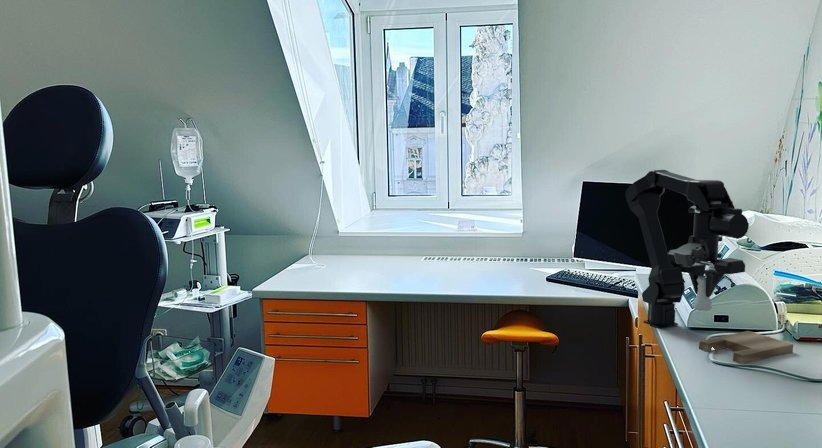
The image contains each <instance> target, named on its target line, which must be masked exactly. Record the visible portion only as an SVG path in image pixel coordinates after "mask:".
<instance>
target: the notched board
mask: <svg viewBox="0 0 822 448" xmlns="http://www.w3.org/2000/svg"><path fill="white" fill-rule="evenodd" d="M698 341H699V343H698V350H701V351H704V352H708V353H709V352H712V351H711V348H712V347H713V348H714V349H715V350H714V351H718V350H722V349H728V350H731V351H733V352H732V361H733V362H736V363H738V364H742V365H745V364H749V363H753V362H758V361H761V360H766V359H767V360H768V359H770V358H775V357H779V356H784V355H788V354H791V353H792V354H793V352H794V344H793V343H791V342H787V341H783V340H779V339H777V338H773V337H770V336H767V335H763V334H761V333H756V332H754V331H752V330H751V331H750V330H745V331H740V332H735V333H731V334H726V335H721V336H715V337H711V338H706V339H701V340H698Z"/></svg>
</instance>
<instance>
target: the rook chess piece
mask: <svg viewBox="0 0 822 448" xmlns="http://www.w3.org/2000/svg"><path fill="white" fill-rule="evenodd" d="M697 282H698V286H697V287H698V292H697V294H696V296H695V298H694V300H693V301H692V304H693V305H692V307H693V309H695V310H698V311H705V312H706V311H711V310H712V309H713V306H712V304H713V303H712V301H711V298H710V297H706V275H704V277H702V276H698V279H697Z"/></svg>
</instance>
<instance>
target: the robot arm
mask: <svg viewBox="0 0 822 448" xmlns="http://www.w3.org/2000/svg"><path fill="white" fill-rule="evenodd" d="M665 190H669V191H672V192H675V193H678V194H681V195H684V196H685V197H686V199H687V201H690V202H691V203H693V204H692V206H690V207H689V208H688V209H687V211H688V212H689V213H694V216H693V233H692V234H693V235H689V237H688V241H687V243H686V244H683V245H681V246H679V247H678V248H676V249H675V248H674V249H669V250H668V249H667V245H666V241H665V237H664V234H663V233H664V232H663V230H662V227H661V223H660V220H659V216H658V210H659V208H660V205H661V196H662V195H663V194H664V193H665ZM625 199H626V202H627V205H628V208H629V210H630V211H631V212H632V213H633V214H634V215H635V216H636V217H637V218H638V222H639V226H640V228H641V232H642V236H643V240H644V244H645V247H646V252H647V255H648V259H649V262H650V263H649V264H650V266H651V269H650V273H649V275H648V279H647V280H648V286H647V287H646V289H645V290H643V291H642V293H641V297H642V302H644V303H647V304H648V305H647V306H648V308H647V319H646V320H645V319H644V320H643V323H644V324H645V325H649V326H653V327H655V328H657V329H658V328H659V329H666V328H670V327H671V328H672V327H676V326H679V323H678V322H675V321H676V309H675V305H676V303H679V304H680V303H681V301H682V298H683V296H684V292H685V290H686V288H685V287H686V286H685V283H686V281H685V278H684V277H683V270H682V269H681V268H683V269H684V271H686V272H687V273H688V275H689V278H690V280H691V284H692V287H693V291H694V294H696V295H697V292H698V287H697V286H698V282H697V279H698V276H702V277H704V276H706V297H709V298H710V297H711V296H712V294H713V293H714V291H715V290H716V288H717V286H718V284H719V282H721V279H723V277H724V275H734V274H735V275H736V274H741V273H745V272H746V263H745V262H744V260H743V259H737V258H732V257H727V258H722V257H723V256H722V255H723V254H722V253H719V242H723V237H726V238H732V239H736V240H737V239H742V238H744V237H745V236H746V235H747V233H748V231H749V226H750V223H749V221H748V219H747V217H746V216H745V215H744V214H743V209H742V208H735V205H734V204H733V203H734V201H732V199H731V197H730V194H729V193H728V191H727V189H726V186H725V183H724V182H723V181H721V180H719V179H718V180H717V179H695V178H690V177H687V176H685V175H681V174H677V173H674V172H672V171H671V172H670V171H669V170H666V169H652V170H650V171H648V172H647V174H646V175H644V176H643V177H641V178H639V179H638V180H635V181H634V182H633V183H632V184H630V185H629V186H628V188H627V189H626V190H625ZM672 263H675V264H677V265H680V267H675V266H674V265H673V264H672ZM706 266H708V269H706Z"/></svg>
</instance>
